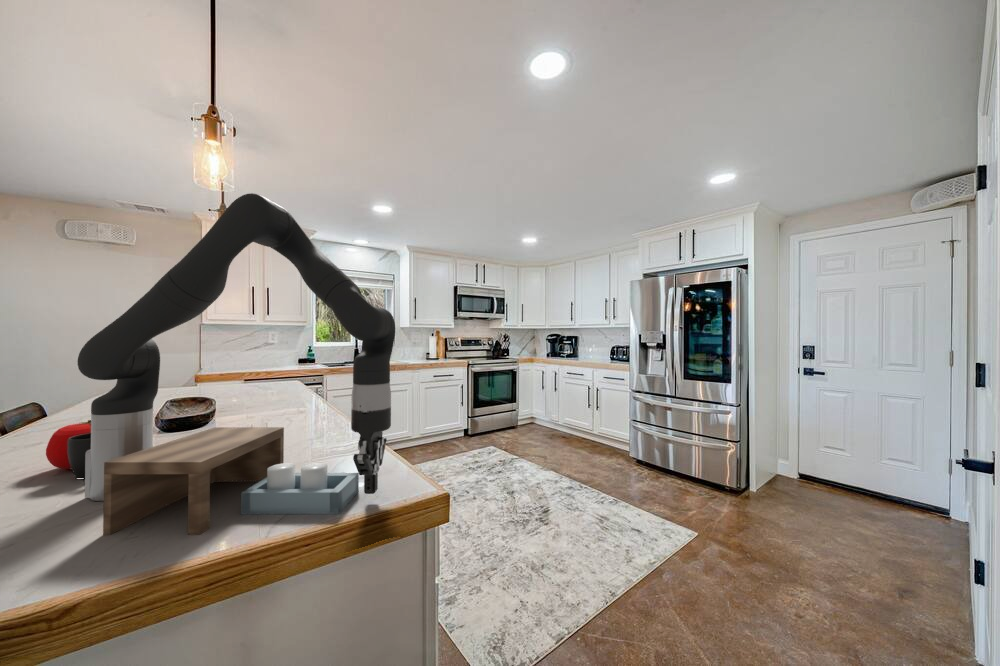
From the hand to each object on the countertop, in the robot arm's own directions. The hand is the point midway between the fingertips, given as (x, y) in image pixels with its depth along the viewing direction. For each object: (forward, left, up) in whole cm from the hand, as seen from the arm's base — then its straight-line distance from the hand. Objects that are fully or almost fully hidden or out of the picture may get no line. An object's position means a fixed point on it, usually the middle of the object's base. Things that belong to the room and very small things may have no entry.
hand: (370, 492), depth 74 cm
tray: (-13, 0, -2) cm, 13 cm away
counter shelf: (-32, 0, -2) cm, 32 cm away
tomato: (-79, +21, -2) cm, 82 cm away
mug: (-69, +14, -2) cm, 71 cm away
